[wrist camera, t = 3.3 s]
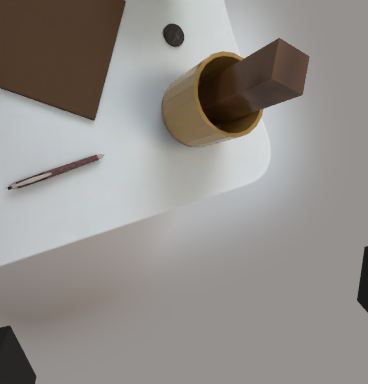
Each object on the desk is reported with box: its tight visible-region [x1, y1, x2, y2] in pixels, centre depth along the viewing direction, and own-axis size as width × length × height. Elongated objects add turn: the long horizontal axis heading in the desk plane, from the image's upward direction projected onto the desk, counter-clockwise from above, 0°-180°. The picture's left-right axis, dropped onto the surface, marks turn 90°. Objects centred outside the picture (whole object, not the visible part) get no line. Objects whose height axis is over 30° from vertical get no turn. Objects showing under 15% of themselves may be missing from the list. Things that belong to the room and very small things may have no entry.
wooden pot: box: [162, 52, 263, 147], centre depth 43 cm, size 10×10×9 cm
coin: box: [164, 24, 184, 46], centre depth 45 cm, size 3×1×3 cm
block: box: [198, 38, 309, 126], centre depth 39 cm, size 4×4×18 cm
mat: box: [0, 0, 126, 120], centre depth 37 cm, size 20×16×1 cm
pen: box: [8, 154, 104, 190], centre depth 38 cm, size 11×1×1 cm, turn 112°
